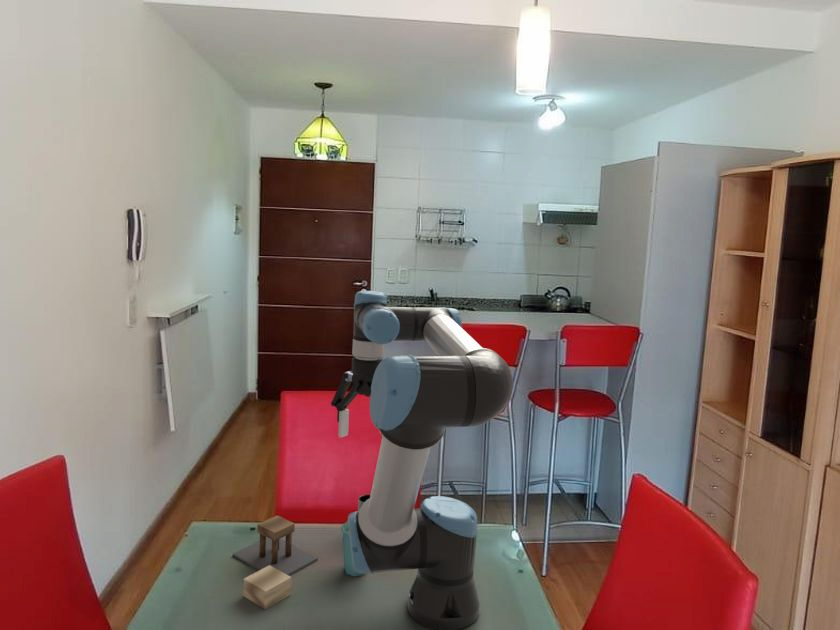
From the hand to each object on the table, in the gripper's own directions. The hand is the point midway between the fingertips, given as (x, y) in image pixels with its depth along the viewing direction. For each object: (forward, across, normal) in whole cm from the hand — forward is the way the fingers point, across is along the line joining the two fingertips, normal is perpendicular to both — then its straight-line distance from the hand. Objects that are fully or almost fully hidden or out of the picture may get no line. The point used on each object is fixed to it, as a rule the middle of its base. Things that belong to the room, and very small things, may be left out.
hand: (364, 442), depth 155 cm
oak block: (+27, +1, +28) cm, 39 cm away
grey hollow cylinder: (+27, +2, -4) cm, 27 cm away
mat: (+27, +11, +17) cm, 34 cm away
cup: (+27, -7, +10) cm, 29 cm away
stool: (+26, +11, +17) cm, 33 cm away
